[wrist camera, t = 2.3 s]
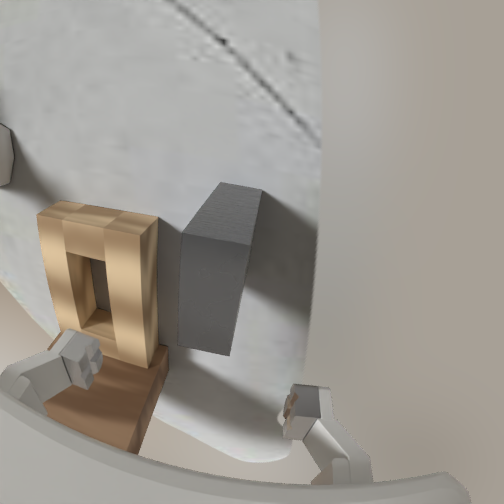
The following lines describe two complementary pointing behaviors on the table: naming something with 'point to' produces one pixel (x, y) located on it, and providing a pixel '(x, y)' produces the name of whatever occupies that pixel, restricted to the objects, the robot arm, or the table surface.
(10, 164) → the flask
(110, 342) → the tan slotted wooden fixture
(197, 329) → the brushed steel bar
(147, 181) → the table surface
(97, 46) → the table surface
